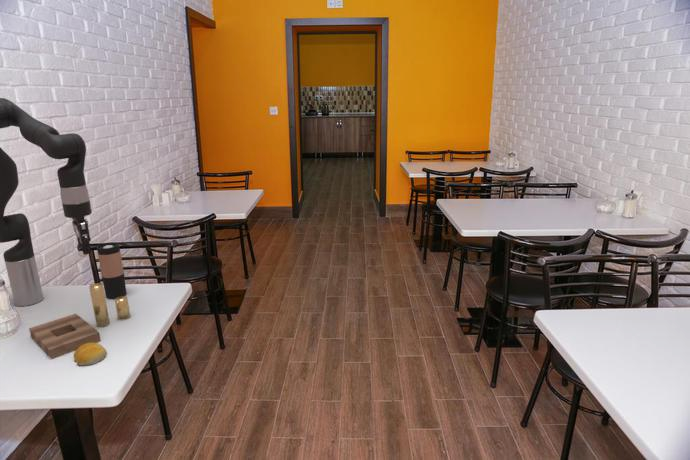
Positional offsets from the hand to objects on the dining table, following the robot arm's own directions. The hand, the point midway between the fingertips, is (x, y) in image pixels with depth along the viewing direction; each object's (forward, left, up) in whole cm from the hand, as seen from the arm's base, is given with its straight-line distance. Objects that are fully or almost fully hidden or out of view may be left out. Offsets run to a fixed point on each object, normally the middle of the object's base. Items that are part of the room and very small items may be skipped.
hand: (85, 250), depth 156 cm
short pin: (-1, +8, -27) cm, 28 cm away
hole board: (0, -11, -27) cm, 29 cm away
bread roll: (+18, -10, -27) cm, 34 cm away
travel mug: (-22, +14, -27) cm, 37 cm away
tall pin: (-1, +1, -27) cm, 27 cm away
